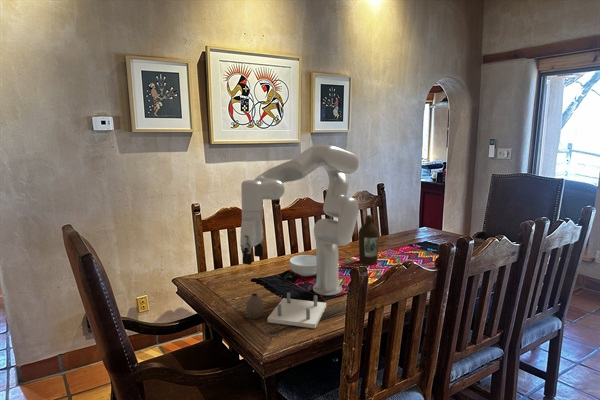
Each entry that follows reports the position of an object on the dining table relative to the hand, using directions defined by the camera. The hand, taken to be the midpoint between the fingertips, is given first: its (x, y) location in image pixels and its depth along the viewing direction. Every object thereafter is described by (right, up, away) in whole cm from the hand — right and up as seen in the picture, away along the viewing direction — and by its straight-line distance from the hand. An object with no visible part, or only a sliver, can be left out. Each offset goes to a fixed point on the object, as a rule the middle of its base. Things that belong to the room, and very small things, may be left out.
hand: (252, 260), depth 145 cm
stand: (+17, -21, +6) cm, 28 cm away
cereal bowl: (+21, -14, +48) cm, 54 cm away
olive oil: (+53, -11, +63) cm, 83 cm away
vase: (0, -22, +4) cm, 23 cm away
